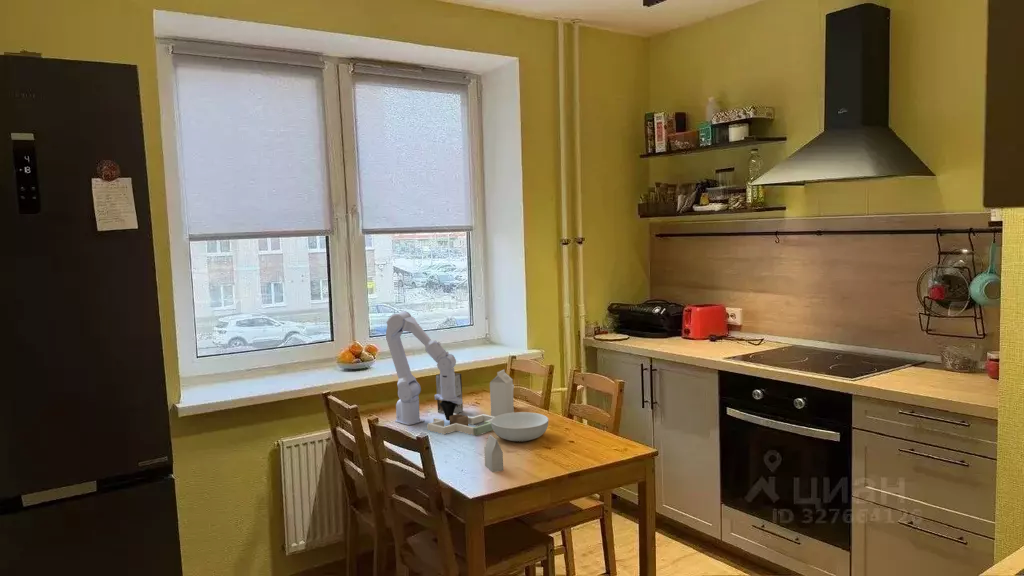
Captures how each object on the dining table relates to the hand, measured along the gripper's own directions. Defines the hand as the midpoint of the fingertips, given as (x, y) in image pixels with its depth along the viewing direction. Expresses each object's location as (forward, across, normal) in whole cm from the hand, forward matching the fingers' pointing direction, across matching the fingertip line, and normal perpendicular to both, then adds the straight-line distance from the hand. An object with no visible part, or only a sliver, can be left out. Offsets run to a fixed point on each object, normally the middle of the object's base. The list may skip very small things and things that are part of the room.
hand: (449, 419), depth 279 cm
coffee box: (+2, -13, +12) cm, 18 cm away
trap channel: (+1, +9, 0) cm, 9 cm away
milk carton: (+2, +11, +19) cm, 22 cm away
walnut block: (+2, +6, 0) cm, 6 cm away
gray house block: (+2, +52, -26) cm, 58 cm away
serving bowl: (+2, +36, +3) cm, 36 cm away
